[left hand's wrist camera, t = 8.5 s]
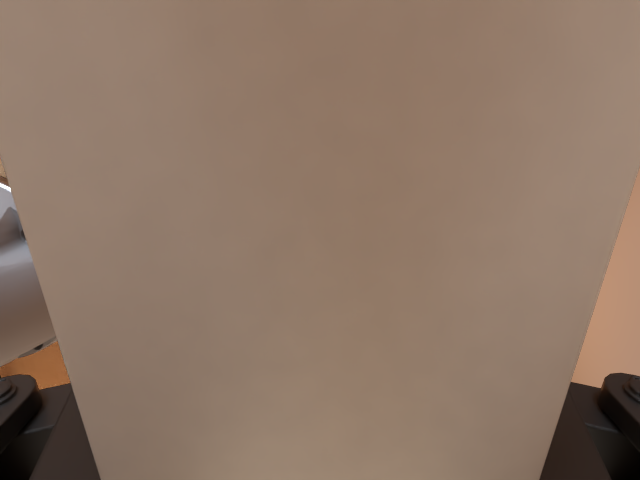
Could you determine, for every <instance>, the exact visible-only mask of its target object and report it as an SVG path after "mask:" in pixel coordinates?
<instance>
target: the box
mask: <svg viewBox="0 0 640 480" xmlns="http://www.w3.org/2000/svg"><path fill="white" fill-rule="evenodd" d="M0 158H1V161H2V164H3V167H4V170H5V174H6V177H7V180H8V183H9V187H10V190H11V193H12V196H13V199H14V203H15V206H16V209H17V212H18V215H19V219H20V222H21V225H22V228H23V231H24V235H25V238H26V241H27V244H28V247H29V251H30V254H31V257H32V260H33V264H34V267H35V270H36V273H37V276H38V280H39V283H40V286H41V289H42V292H43V296H44V299H45V302H46V305H47V308H48V312H49V315H50V318H51V321H52V324H53V328H54V331H55V334H56V337H57V341H58V344H59V347H60V350H61V353H62V357H63V360H64V363H65V366H66V369H67V373H68V376H69V379H70V382H71V385H72V389H73V392H74V395H75V398H76V402H77V405H78V408H79V411H80V414H81V418H82V421H83V424H84V427H85V430H86V434H87V437H88V440H89V443H90V446H91V450H92V453H93V456H94V459H95V462H96V466H97V469H98V472H99V475H100V479H101V480H539V479H540V476H541V473H542V469H543V466H544V463H545V460H546V457H547V454H548V451H549V448H550V445H551V441H552V438H553V435H554V432H555V429H556V426H557V423H558V420H559V417H560V413H561V410H562V407H563V404H564V401H565V398H566V395H567V392H568V388H569V385H570V382H571V379H572V376H573V373H574V370H575V367H576V364H577V360H578V357H579V354H580V351H581V348H582V345H583V342H584V339H585V336H586V332H587V329H588V326H589V323H590V320H591V317H592V314H593V310H594V308H595V304H596V301H597V298H598V295H599V292H600V289H601V286H602V283H603V280H604V276H605V273H606V270H607V267H608V264H609V261H610V258H611V255H612V252H613V248H614V245H615V242H616V239H617V236H618V233H619V230H620V227H621V224H622V220H623V217H624V214H625V211H626V208H627V205H628V202H629V199H630V196H631V192H632V189H633V186H634V183H635V180H636V177H637V174H638V171H639V168H640V0H0Z"/></svg>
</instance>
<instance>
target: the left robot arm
mask: <svg viewBox="0 0 640 480" xmlns="http://www.w3.org/2000/svg"><path fill="white" fill-rule="evenodd" d="M56 341H57V337H56V334H55V331H54V328H53V324H52V321H51V318H50V315H49V312H48V308H47V305H46V302H45V299H44V296H43V292H42V289H41V286H40V283H39V280H38V276H37V273H36V270H35V267H34V264H33V260H32V257H31V254H30V251H29V247H28V244H27V241H26V238H25V235H24V231H23V228H22V225H21V222H20V219H19V215H18V212H17V209H16V206H15V203H14V199H13V196H12V193H11V190H10V187H9V183H8V180H7V178H4V177H2V176H0V367H1V366H3V365H5V364H7V363H9V362H11V361H13V360H14V359H16V358H20V357H24V356H27V355H30V354H33V353H36V352H38V351H40V350H42V349H44V348H46V347H48V346H49V345H51V344H53V343H54V342H56ZM0 480H101V479H100V475H99V472H98V469H97V466H96V462H95V459H94V456H93V453H92V450H91V446H90V443H89V440H88V437H87V434H86V430H85V427H84V424H83V421H82V418H81V414H80V411H79V408H78V405H77V402H76V398H75V395H74V392H73V389H72V385H71V383H69V384H64V385H60V386H55V387H50V388H46V389H41V390H39V388H38V385H37V383H36V380H35V379H34V378H33V377H31V376H30V375H21V374H19V375H13V376H7V377H3V378H1V376H0ZM539 480H640V376H636V375H631V374H625V373H613V374H609V375H608V376H607V377H605V379H604V382H603V385H602V387H601V388H596V387H592V386H587V385H583V384H578V383H573V382H570V385H569V388H568V392H567V395H566V398H565V401H564V404H563V407H562V410H561V413H560V417H559V420H558V423H557V426H556V429H555V432H554V435H553V438H552V441H551V445H550V448H549V451H548V454H547V457H546V460H545V463H544V466H543V469H542V473H541V476H540V479H539Z"/></svg>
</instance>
